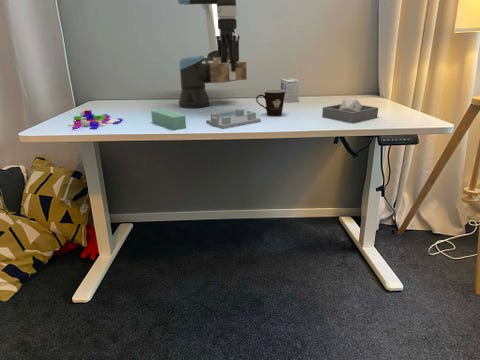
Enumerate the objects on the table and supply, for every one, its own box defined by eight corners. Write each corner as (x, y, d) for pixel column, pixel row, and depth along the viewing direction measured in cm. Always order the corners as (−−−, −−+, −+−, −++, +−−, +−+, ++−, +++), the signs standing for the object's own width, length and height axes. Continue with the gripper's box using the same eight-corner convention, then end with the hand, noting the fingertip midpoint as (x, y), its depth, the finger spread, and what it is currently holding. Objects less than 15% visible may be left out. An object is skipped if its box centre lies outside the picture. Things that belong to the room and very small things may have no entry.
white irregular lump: (335, 119, 149) (347, 103, 141) (335, 105, 154) (347, 89, 146) (353, 126, 150) (366, 110, 142) (353, 112, 155) (365, 96, 147)
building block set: (115, 130, 139) (113, 118, 138) (60, 132, 138) (57, 120, 136) (128, 116, 163) (126, 106, 161) (80, 117, 161) (78, 107, 159)
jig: (222, 129, 135) (221, 119, 134) (205, 123, 144) (205, 114, 143) (261, 121, 145) (261, 112, 144) (243, 116, 154) (243, 108, 153)
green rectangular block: (152, 123, 148) (151, 110, 146) (163, 121, 151) (162, 109, 149) (174, 131, 135) (173, 117, 133) (186, 128, 138) (185, 115, 136)
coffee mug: (285, 113, 160) (286, 89, 156) (282, 117, 152) (283, 92, 148) (260, 112, 163) (260, 89, 159) (255, 116, 155) (255, 92, 151)
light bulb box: (280, 99, 192) (280, 78, 188) (292, 98, 193) (292, 77, 189) (286, 102, 183) (286, 80, 178) (298, 102, 184) (299, 80, 180)
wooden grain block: (216, 82, 147) (215, 57, 143) (210, 81, 150) (209, 57, 147) (246, 79, 155) (246, 56, 151) (240, 78, 158) (239, 55, 155)
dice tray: (322, 116, 151) (322, 107, 149) (347, 111, 159) (348, 102, 158) (351, 123, 140) (352, 113, 138) (377, 117, 148) (378, 107, 147)
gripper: (207, 19, 149) (210, 78, 157) (231, 16, 135) (233, 81, 144) (222, 19, 153) (224, 77, 161) (247, 17, 139) (248, 80, 148)
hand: (228, 79), depth 152 cm, fingers closed on wooden grain block, 4 cm apart
